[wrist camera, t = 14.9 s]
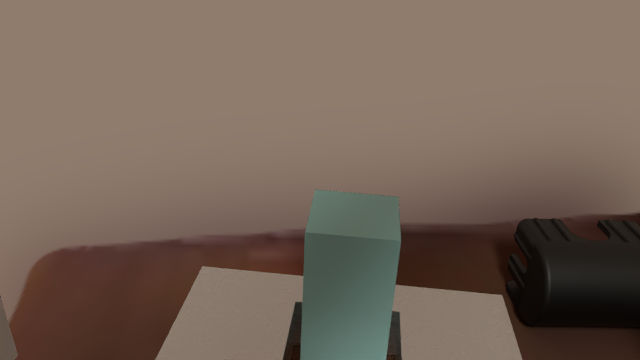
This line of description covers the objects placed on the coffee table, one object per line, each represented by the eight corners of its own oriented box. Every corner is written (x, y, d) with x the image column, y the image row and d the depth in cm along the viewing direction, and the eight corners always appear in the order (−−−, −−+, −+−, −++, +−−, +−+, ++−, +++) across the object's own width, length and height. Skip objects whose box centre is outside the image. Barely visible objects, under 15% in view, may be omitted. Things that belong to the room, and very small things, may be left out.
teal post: (378, 365, 36) (398, 196, 30) (377, 424, 31) (400, 241, 26) (307, 357, 36) (315, 189, 31) (298, 414, 32) (305, 231, 27)
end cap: (531, 352, 37) (554, 267, 34) (497, 287, 44) (514, 210, 41) (676, 353, 38) (712, 270, 35) (622, 288, 44) (648, 213, 41)
